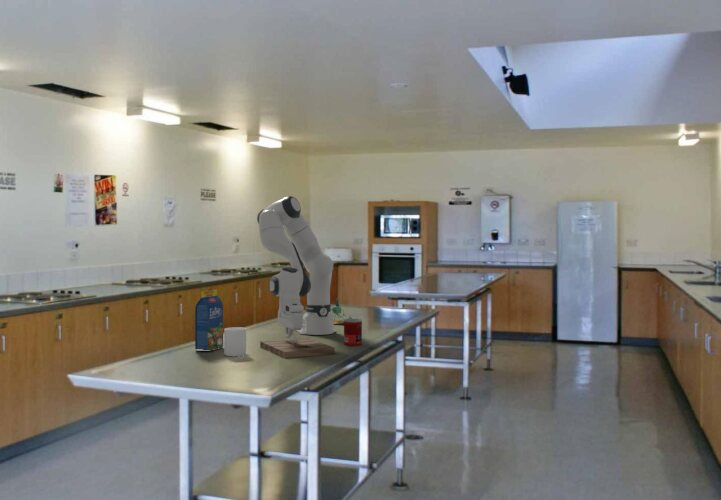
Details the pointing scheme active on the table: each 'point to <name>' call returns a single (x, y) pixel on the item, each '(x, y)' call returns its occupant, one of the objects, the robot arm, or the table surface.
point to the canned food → (352, 332)
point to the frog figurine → (336, 311)
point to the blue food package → (209, 321)
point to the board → (297, 348)
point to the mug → (235, 341)
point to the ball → (294, 338)
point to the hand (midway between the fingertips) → (289, 338)
